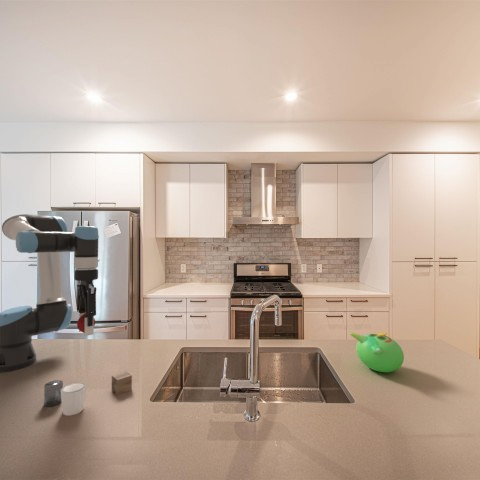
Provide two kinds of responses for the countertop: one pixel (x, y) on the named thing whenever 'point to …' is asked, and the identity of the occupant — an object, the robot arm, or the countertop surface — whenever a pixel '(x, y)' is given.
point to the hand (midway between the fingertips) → (86, 332)
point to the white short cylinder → (73, 398)
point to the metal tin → (52, 393)
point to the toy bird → (379, 352)
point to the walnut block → (121, 382)
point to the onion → (82, 323)
